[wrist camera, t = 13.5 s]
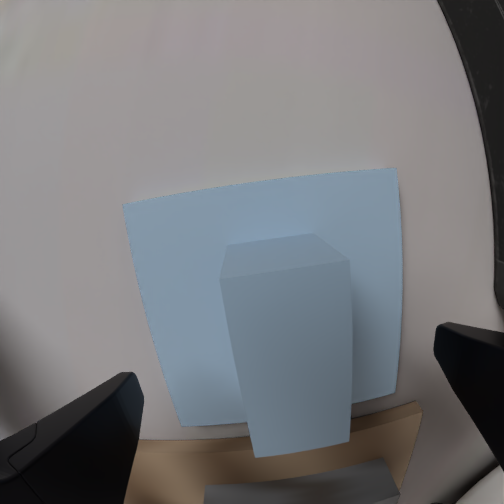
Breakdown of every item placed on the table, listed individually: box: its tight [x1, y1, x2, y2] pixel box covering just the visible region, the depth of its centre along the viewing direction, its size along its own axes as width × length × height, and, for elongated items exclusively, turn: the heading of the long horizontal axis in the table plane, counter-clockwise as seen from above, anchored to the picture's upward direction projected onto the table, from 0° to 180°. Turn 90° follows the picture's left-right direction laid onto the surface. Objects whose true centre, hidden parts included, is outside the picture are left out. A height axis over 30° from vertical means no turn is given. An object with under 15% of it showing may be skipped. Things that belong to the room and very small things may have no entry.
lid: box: [122, 168, 402, 458], centre depth 10 cm, size 10×10×6 cm
